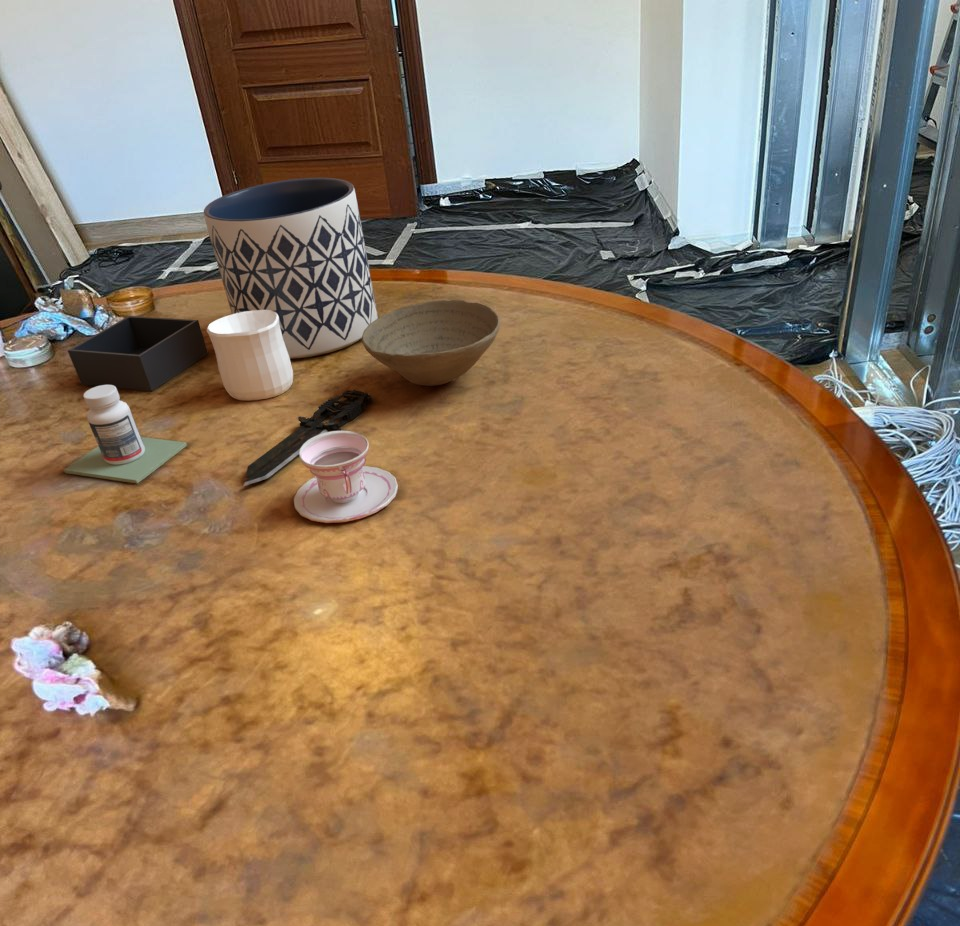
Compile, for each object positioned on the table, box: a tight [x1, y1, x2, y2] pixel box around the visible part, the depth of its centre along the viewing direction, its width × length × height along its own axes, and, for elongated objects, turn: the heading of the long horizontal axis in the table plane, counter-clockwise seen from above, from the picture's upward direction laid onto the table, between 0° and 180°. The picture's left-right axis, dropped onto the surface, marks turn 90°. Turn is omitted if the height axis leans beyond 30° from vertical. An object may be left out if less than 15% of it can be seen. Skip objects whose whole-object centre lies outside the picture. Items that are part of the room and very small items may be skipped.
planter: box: [203, 177, 379, 360], centre depth 136 cm, size 22×22×20 cm
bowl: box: [361, 299, 501, 387], centre depth 121 cm, size 18×18×8 cm
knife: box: [242, 389, 373, 487], centre depth 113 cm, size 25×6×1 cm, turn 147°
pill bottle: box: [83, 385, 145, 465], centre depth 111 cm, size 5×5×9 cm
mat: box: [63, 436, 188, 484], centre depth 114 cm, size 12×10×1 cm
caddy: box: [67, 315, 209, 392], centre depth 137 cm, size 14×14×5 cm
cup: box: [206, 310, 294, 402], centre depth 125 cm, size 10×10×10 cm
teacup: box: [293, 430, 399, 524], centre depth 99 cm, size 12×12×6 cm
